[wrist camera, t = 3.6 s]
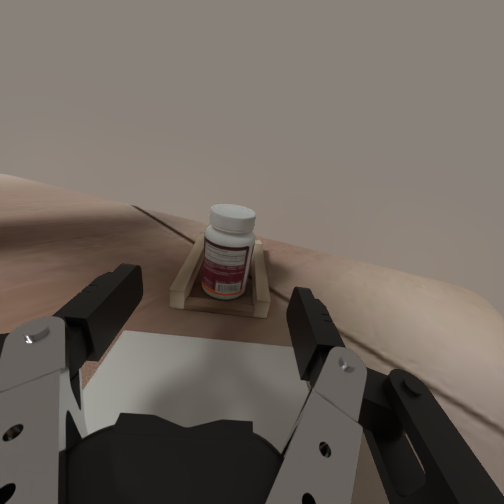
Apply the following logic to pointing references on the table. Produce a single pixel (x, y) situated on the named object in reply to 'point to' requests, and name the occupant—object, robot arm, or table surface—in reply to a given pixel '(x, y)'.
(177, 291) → the wooden rectangular frame
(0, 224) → the table surface
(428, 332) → the table surface
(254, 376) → the mat
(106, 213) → the table surface
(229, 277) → the pill bottle
